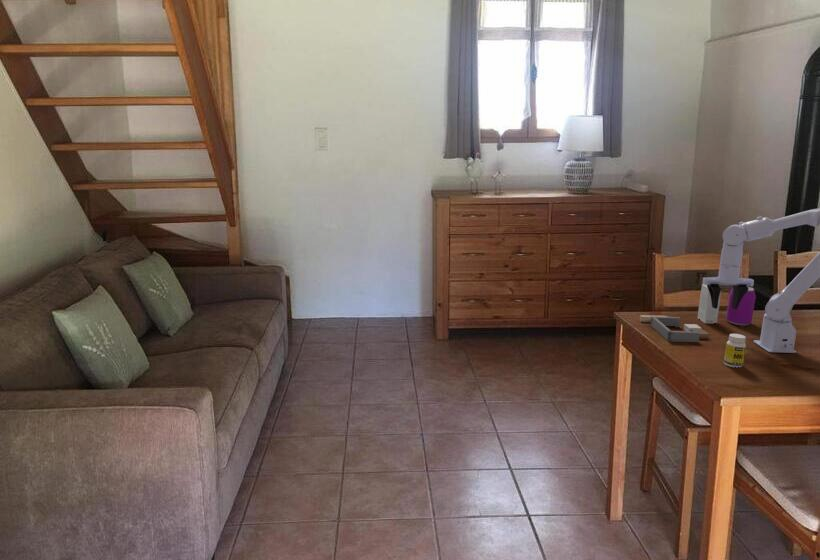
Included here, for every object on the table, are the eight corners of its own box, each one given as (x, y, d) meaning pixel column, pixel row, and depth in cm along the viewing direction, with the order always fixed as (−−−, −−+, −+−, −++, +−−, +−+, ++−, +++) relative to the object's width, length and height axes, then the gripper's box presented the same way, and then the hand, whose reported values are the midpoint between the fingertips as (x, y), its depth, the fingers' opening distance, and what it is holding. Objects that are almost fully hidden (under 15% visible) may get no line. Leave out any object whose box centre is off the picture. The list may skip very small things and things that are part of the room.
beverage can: (746, 320, 219) (751, 285, 216) (754, 326, 211) (760, 291, 208) (722, 318, 220) (727, 284, 217) (730, 325, 212) (735, 290, 210)
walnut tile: (708, 339, 199) (709, 333, 198) (695, 339, 199) (695, 333, 198) (702, 335, 202) (703, 329, 202) (690, 335, 203) (690, 329, 202)
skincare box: (717, 323, 214) (722, 288, 211) (704, 323, 214) (709, 288, 211) (709, 318, 220) (714, 284, 217) (696, 318, 220) (701, 284, 217)
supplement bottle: (732, 368, 174) (736, 339, 172) (719, 362, 179) (723, 333, 177) (746, 367, 176) (751, 337, 174) (733, 361, 180) (738, 332, 178)
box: (698, 342, 195) (699, 332, 194) (668, 341, 195) (669, 332, 195) (678, 326, 211) (679, 317, 210) (650, 325, 211) (651, 316, 210)
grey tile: (700, 334, 204) (701, 328, 203) (688, 333, 204) (688, 327, 203) (695, 330, 208) (696, 324, 207) (683, 329, 208) (683, 324, 207)
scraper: (678, 325, 212) (679, 319, 211) (643, 324, 212) (643, 318, 211) (670, 318, 218) (671, 313, 218) (636, 317, 219) (637, 312, 218)
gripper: (748, 262, 199) (742, 304, 202) (700, 261, 199) (695, 303, 202) (759, 267, 192) (753, 311, 195) (710, 266, 192) (704, 310, 195)
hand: (724, 308), depth 198 cm, fingers open, 5 cm apart
